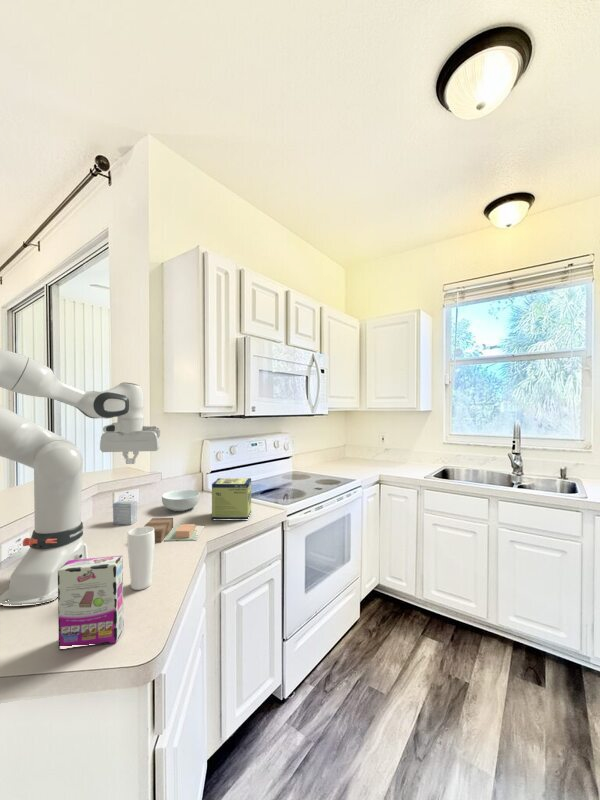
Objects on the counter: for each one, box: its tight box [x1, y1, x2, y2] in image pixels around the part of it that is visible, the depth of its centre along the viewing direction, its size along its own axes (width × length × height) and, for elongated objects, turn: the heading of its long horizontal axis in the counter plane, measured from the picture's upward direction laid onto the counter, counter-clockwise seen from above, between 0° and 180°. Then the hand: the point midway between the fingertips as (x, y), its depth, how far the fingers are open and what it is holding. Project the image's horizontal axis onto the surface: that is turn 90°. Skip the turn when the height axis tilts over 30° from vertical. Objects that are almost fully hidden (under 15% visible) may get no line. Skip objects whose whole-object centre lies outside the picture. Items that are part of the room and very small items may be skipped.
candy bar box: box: [57, 555, 124, 647], centre depth 74 cm, size 11×5×16 cm, turn 101°
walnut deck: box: [143, 517, 174, 543], centre depth 130 cm, size 14×8×4 cm, turn 3°
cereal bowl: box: [161, 489, 201, 512], centre depth 161 cm, size 17×17×7 cm
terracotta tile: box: [175, 523, 196, 538], centre depth 130 cm, size 7×5×2 cm
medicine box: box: [112, 500, 138, 526], centre depth 143 cm, size 8×4×9 cm, turn 84°
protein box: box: [211, 477, 252, 520], centre depth 151 cm, size 10×16×16 cm
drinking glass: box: [126, 525, 155, 591], centre depth 95 cm, size 7×7×15 cm
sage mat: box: [163, 524, 199, 542], centre depth 132 cm, size 14×12×1 cm
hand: (130, 463), depth 130 cm, fingers closed
